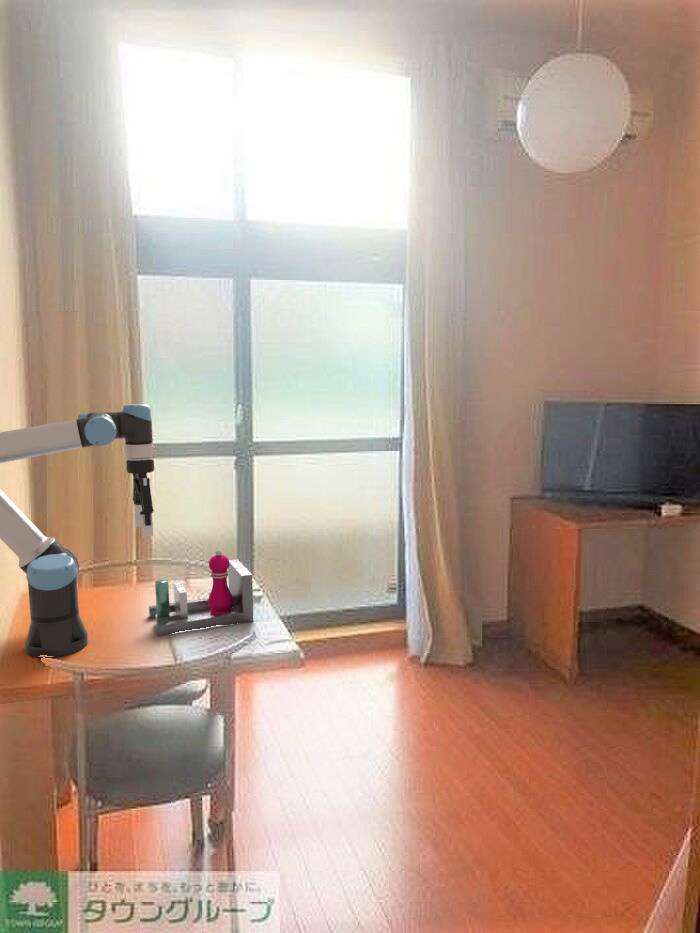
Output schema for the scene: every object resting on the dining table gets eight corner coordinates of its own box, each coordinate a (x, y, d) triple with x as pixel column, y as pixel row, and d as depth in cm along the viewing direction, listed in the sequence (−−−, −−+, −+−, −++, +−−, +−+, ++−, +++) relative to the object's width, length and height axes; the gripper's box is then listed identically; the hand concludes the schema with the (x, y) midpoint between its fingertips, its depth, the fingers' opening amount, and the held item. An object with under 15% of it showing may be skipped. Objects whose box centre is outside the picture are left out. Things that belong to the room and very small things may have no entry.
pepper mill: (236, 611, 202) (234, 546, 199) (229, 620, 195) (227, 553, 192) (212, 610, 203) (210, 546, 200) (205, 619, 196) (202, 553, 193)
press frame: (157, 636, 184) (154, 587, 182) (149, 616, 199) (146, 570, 197) (253, 621, 194) (252, 574, 192) (238, 602, 210) (237, 559, 208)
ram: (159, 630, 187) (156, 587, 186) (154, 618, 196) (152, 577, 195) (188, 626, 190) (186, 583, 189) (182, 614, 200) (180, 573, 198)
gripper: (161, 462, 182) (165, 539, 186) (146, 452, 205) (150, 521, 208) (132, 465, 179) (137, 542, 182) (120, 454, 201) (124, 523, 205)
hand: (144, 531), depth 195 cm, fingers open, 13 cm apart
